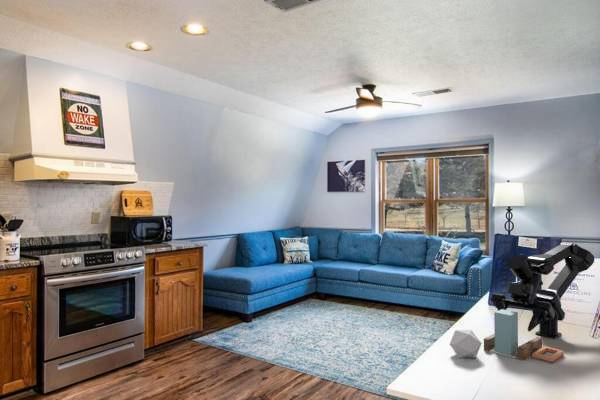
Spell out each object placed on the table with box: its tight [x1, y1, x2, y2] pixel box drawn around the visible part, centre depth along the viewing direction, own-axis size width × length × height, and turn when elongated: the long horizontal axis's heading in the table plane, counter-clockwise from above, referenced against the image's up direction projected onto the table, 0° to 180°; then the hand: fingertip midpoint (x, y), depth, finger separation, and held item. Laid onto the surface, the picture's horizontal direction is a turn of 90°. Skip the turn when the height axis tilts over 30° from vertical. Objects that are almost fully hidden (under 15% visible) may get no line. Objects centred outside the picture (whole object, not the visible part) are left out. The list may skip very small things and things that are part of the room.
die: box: [449, 329, 482, 359], centre depth 132 cm, size 8×9×10 cm
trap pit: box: [531, 345, 565, 364], centre depth 130 cm, size 9×6×2 cm, turn 129°
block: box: [493, 309, 519, 357], centre depth 134 cm, size 5×5×12 cm
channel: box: [483, 333, 543, 361], centre depth 137 cm, size 14×12×4 cm
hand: (513, 327), depth 137 cm, fingers open, 9 cm apart
